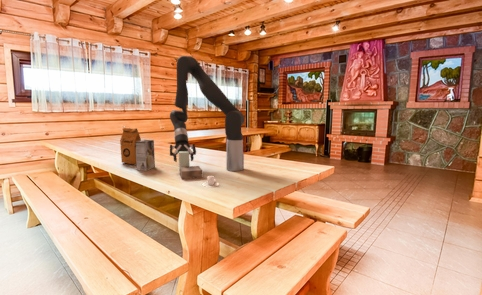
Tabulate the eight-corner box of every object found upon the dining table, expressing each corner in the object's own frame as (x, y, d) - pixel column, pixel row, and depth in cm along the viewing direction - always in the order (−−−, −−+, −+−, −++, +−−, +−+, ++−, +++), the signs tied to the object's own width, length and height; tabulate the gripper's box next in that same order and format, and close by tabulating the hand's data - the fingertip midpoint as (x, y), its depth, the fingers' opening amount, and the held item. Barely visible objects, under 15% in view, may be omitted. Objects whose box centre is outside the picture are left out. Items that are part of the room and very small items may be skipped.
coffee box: (145, 166, 157) (144, 139, 154) (155, 167, 156) (154, 140, 153) (136, 170, 148) (134, 141, 145) (146, 170, 147) (145, 142, 144)
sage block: (188, 170, 149) (187, 150, 147) (189, 172, 144) (189, 152, 143) (179, 170, 147) (178, 151, 146) (180, 172, 143) (179, 152, 141)
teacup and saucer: (211, 181, 129) (210, 173, 128) (223, 184, 124) (223, 175, 124) (198, 185, 122) (198, 177, 121) (211, 188, 117) (211, 180, 117)
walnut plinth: (198, 173, 143) (198, 165, 142) (202, 177, 133) (202, 170, 133) (179, 174, 139) (179, 167, 139) (182, 179, 130) (181, 171, 129)
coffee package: (133, 165, 158) (131, 129, 155) (119, 163, 163) (116, 128, 160) (146, 162, 167) (144, 127, 163) (132, 160, 172) (130, 127, 169)
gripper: (168, 133, 149) (170, 157, 140) (194, 133, 153) (197, 156, 144) (168, 141, 154) (170, 165, 145) (193, 141, 159) (196, 163, 150)
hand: (184, 160), depth 145 cm, fingers open, 8 cm apart
